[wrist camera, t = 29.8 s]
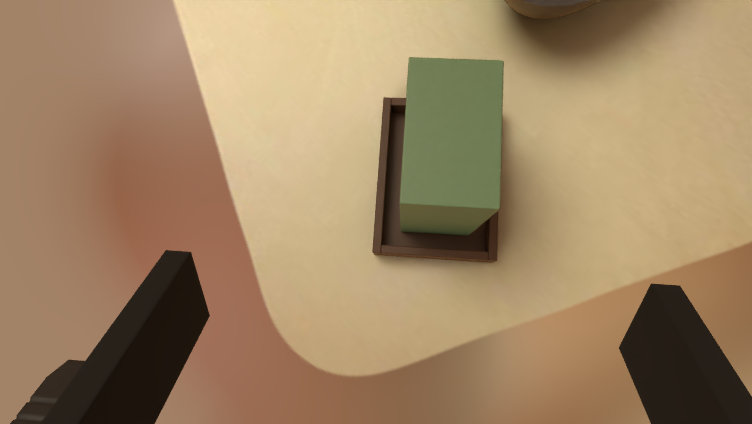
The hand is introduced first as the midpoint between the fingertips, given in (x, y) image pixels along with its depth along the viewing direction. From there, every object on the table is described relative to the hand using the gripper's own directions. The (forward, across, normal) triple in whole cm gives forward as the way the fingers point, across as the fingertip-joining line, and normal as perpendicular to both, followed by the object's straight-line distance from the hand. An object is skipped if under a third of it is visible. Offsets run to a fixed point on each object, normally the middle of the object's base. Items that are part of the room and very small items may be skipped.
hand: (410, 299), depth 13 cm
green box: (+20, +2, -8) cm, 21 cm away
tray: (+20, +2, -8) cm, 22 cm away
